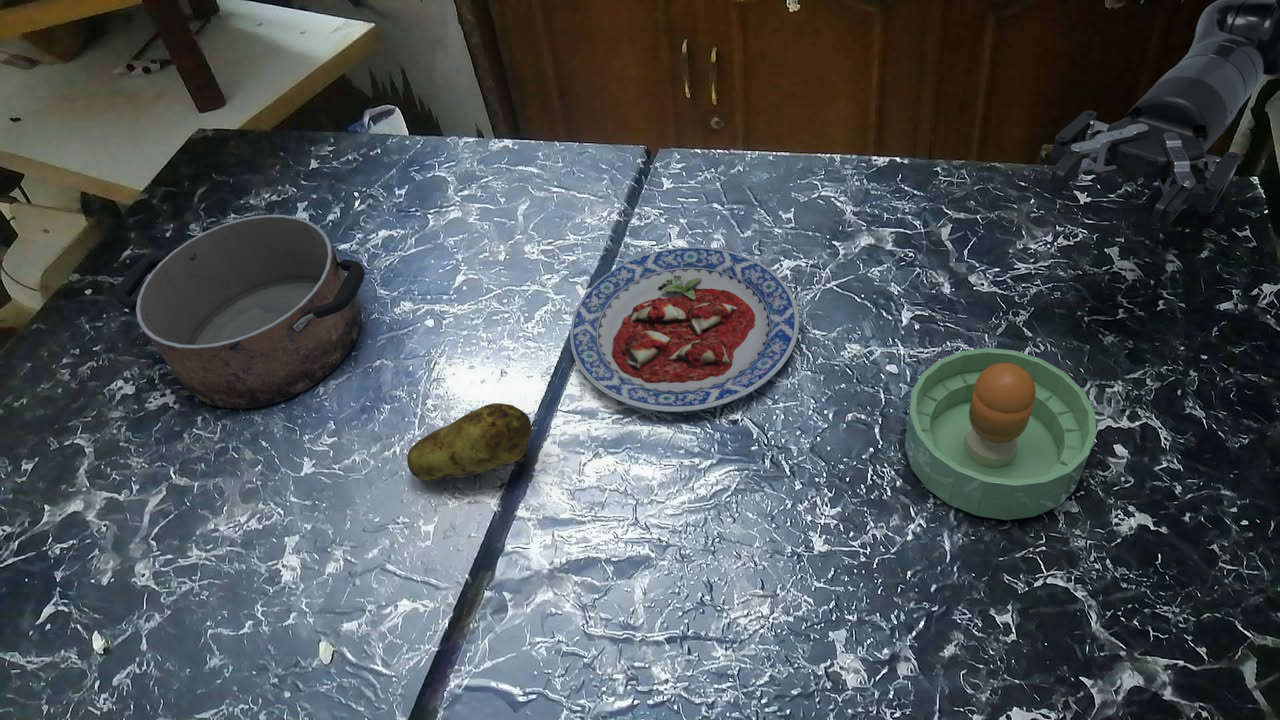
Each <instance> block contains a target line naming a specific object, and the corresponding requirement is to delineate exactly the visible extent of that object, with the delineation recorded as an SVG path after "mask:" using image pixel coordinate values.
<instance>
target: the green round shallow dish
mask: <svg viewBox="0 0 1280 720" xmlns="http://www.w3.org/2000/svg"><path fill="white" fill-rule="evenodd" d="M998 363H1012V364H1015V365H1018V366H1020V367H1022V368H1023V369H1024V370H1026V371H1027V372H1028V373H1029V374H1030V376H1031V377H1032V379H1033V381H1034V384H1035V388H1036V396H1035V401H1034V404H1033V407H1032V411H1031V414H1030V417H1029V421H1028V424H1027V426H1026V428H1025V430H1024V432H1023V433H1022V434H1021V435H1020V436H1019V447H1018V450H1017V453H1016V456H1015V458H1014V460H1013V461H1012V462H1011V463H1009V464H1008V465H1005V466H1003V467H997V468H991V467H986V466H982V465H980V464H978V463H976V462H975V461H973V460H972V459H971V458H970V457H969V456H968V454H967V453H966V451H965V447H964V442H965V438H966V433H967V430H968V428H969V427H970V426H971V423H970V419H969V409H970V405H971V400H972V396H973V391H974V386H975V383H976V380H977V378H978V377H979V375H980V374H981V373H982V372H983V371H984V370H985V369H986V368H988V367H990V366H991V365H994V364H998ZM1095 411H1096V410H1094V407H1093V406H1092V404H1091V402H1090V400H1089V398H1088V396H1087V394H1086V392H1085V391H1084V389H1083V388H1082V387H1080V385H1078V384H1077V382H1075V380H1073V378H1071V377H1070V376H1069V375H1068V374H1067V373H1066V372H1065V371H1063V370H1061V369H1060V368H1058V367H1057V366H1055V365H1053V364H1051V363H1049V362H1047V361H1046V360H1045V359H1042V358H1040V357H1037V356H1034V355H1030V354H1027V353H1024V352H1021V351H1018V350H1014V349H1004V348H1003V349H1002V348H993V347H982V348H976V349H968V350H960V351H958V352H955V353H952V354H950V355H947V356H945V357H942V358H940V359H938V360H937V361H936V362H934V363H933V364H931V365H930V366H929V367H928V368H927V369H926V370H924V371H923V372H922V373H921V374H920V375H919V377H918V379H917V380H916V383H915V385H914V386H913V388H912V390H911V392H910V399H909V405H908V412H907V418H906V425H905V436H904V437H905V438H904V449H905V450H904V451H905V454H906V456H907V459H908V463H909V466H910V469H911V470H912V472H913V473H914V474H915V475H916V477H917V479H919V481H920V482H921V484H923V486H924V487H925V489H927V490H928V491H929V492H930V493H932V494H933V495H935V496H936V497H937V498H939V499H940V500H942V501H943V502H945V503H946V504H947V505H949V506H950V507H954V508H956V509H959V510H961V511H964V512H966V513H969V514H971V515H973V516H976V517H982V518H987V519H989V518H990V519H996V520H1002V521H1009V520H1010V521H1011V520H1018V519H1027V518H1035V517H1037V516H1039V515H1042V514H1044V513H1046V512H1048V511H1050V510H1053V509H1056V508H1057V507H1059V506H1060V505H1062V504H1063V503H1064V502H1065V501H1066V500H1067V498H1069V497H1070V496H1071V494H1073V493H1074V492H1075V491H1076V489H1077V486H1078V484H1079V481H1080V480H1081V476H1082V474H1083V471H1084V468H1085V466H1086V463H1087V462H1088V461H1087V460H1088V458H1089V455H1090V454H1091V451H1092V448H1093V445H1094V444H1095V440H1096V438H1097V432H1098V431H1097V420H1096V412H1095Z"/></svg>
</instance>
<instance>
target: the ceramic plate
mask: <svg viewBox="0 0 1280 720" xmlns="http://www.w3.org/2000/svg"><path fill="white" fill-rule="evenodd" d="M799 313H800V312H799V309H798V304H797V302H796V299H795V297H794V295H793V293H792V291H791V289H790V288H789V286H788V285H787V284H786V283H785V281H784V280H783V279H782V278H781V276H779V275H778V274H777V273H776V272H774V270H772V269H770V268H769V267H768V266H766V265H764V264H763V263H761V262H759V261H758V260H756V259H755V258H752V257H749V256H748V255H744V254H740V253H738V252H734V251H730V250H727V249H722V248H716V247H715V248H714V247H708V246H707V247H705V246H686V247H685V246H684V247H673V248H667V249H662V250H661V249H660V250H657V251H656V250H655V251H652V252H649V253H645V254H644V255H641V256H638V257H635V258H633V259H630V260H627V261H625V262H624V263H622V264H620V265H618V266H617V267H615V268H614V269H612V270H610V271H609V272H607V273H606V274H605V275H603V276H602V277H601V278H600V279H598V280H597V281H596V282H595V283H594V284H593V285H592V286H591V287H590V288H589V289H588V290H587V292H586V293H585V294H584V296H583V297H582V298H581V300H580V302H579V303H578V305H577V307H576V309H575V312H574V313H573V317H572V319H571V324H570V331H569V332H570V334H569V337H570V348H571V351H572V355H573V358H574V361H575V362H576V364H577V366H578V368H579V370H580V371H581V372H582V374H583V376H585V378H586V379H587V380H588V381H589V382H590V383H591V384H592V385H594V387H596V388H597V389H599V390H600V391H601V392H603V394H606V395H607V396H609V397H611V398H613V399H615V400H617V401H620V402H622V403H623V404H626V405H629V406H633V407H636V408H640V409H645V410H650V411H657V412H669V413H670V412H672V413H680V412H694V411H700V410H706V409H710V408H714V407H719V406H722V405H725V404H729V403H731V402H733V401H736V400H738V399H741V398H744V396H747V395H749V394H751V393H752V392H754V391H755V390H757V389H758V388H760V387H762V386H763V385H765V383H767V382H768V381H769V380H771V379H772V378H773V377H774V376H775V375H776V374H777V373H778V372H779V371H780V370H781V369H782V368H783V367H784V364H785V363H786V362H787V361H788V359H789V357H790V356H791V355H792V353H793V350H794V348H795V346H796V342H797V338H798V335H799V330H800V314H799Z"/></svg>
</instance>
